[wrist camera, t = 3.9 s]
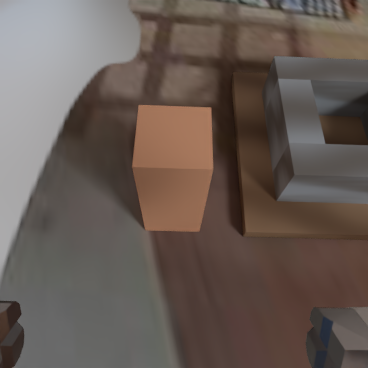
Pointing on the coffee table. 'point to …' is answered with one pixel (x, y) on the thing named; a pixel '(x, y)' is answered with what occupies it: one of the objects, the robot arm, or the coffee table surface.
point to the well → (303, 148)
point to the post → (173, 165)
